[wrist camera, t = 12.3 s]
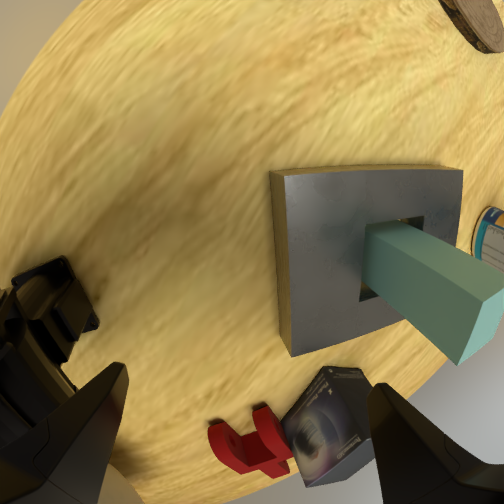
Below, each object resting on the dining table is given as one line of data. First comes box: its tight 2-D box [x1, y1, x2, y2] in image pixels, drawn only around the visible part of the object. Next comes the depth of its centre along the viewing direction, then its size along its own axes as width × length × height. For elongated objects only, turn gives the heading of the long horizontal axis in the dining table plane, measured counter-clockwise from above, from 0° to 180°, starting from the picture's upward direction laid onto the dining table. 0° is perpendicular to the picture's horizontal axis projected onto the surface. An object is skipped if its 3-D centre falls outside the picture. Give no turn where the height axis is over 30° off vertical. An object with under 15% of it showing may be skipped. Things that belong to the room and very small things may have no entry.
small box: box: [281, 367, 375, 488], centre depth 24 cm, size 11×6×10 cm, turn 156°
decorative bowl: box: [97, 463, 144, 504], centre depth 19 cm, size 27×27×12 cm
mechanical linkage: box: [208, 406, 294, 479], centre depth 28 cm, size 16×7×5 cm, turn 21°
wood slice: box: [438, 0, 504, 54], centre depth 13 cm, size 16×16×3 cm
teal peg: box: [361, 220, 504, 366], centre depth 17 cm, size 4×4×13 cm
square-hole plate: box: [269, 165, 463, 358], centre depth 21 cm, size 18×14×3 cm
